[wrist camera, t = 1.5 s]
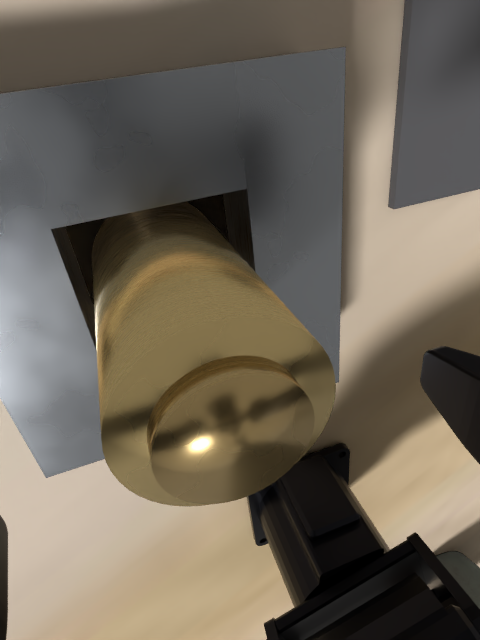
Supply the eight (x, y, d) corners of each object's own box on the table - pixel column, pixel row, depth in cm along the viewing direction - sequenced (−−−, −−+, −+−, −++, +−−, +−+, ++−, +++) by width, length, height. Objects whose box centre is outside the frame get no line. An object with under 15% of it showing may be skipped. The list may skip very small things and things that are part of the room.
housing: (307, 344, 20) (338, 382, 18) (51, 421, 17) (46, 478, 15) (297, 52, 14) (345, 47, 11) (-109, 107, 11) (-163, 116, 9)
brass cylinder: (227, 299, 17) (347, 481, 9) (112, 329, 16) (141, 560, 8) (210, 183, 15) (355, 302, 7) (73, 211, 14) (60, 386, 6)
